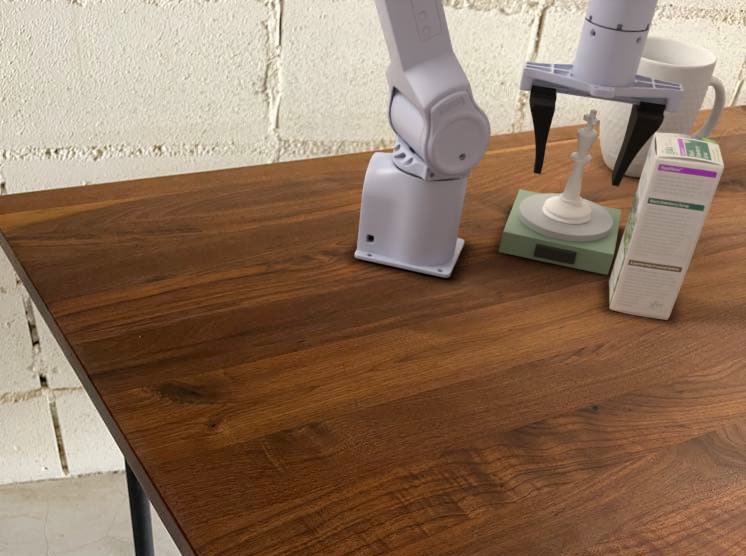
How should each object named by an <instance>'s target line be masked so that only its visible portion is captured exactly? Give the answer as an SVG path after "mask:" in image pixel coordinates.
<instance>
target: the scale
mask: <svg viewBox="0 0 746 556" xmlns="http://www.w3.org/2000/svg"><path fill="white" fill-rule="evenodd" d="M560 194H561V193H557V192H556V193H555V192H551V193H550V192H549V193H548V192H547V193H540V192H537V191H536V192H535V191H531V190H527V189H520V188H519V190H518V192H517V194H516V198H515V200H514V202H513V205H512V208H511V210H510V213H509V215H508V218H507V220H506V223H505V226H504V228H503V231H502V233H501V239H500V243H499V248H498V253H502V254H507V255H511V256H516V257H519V258H520V257H521V258H525V259H529V260H534V261H539V262H543V263H548V264H554V265H558V266H562V267H568V268H572V269H577V270H582V271H586V272H591V273H595V274H599V275H600V274H601V275H605V276H608V275H609V272H610V268H611V266H612V263H613V259H614V256H615V252H616V246H617V239H618V234H619V228H620V224H621V223H620V222H621V217H622V211H623V210H622V208H621V209H620V208H615V207H610V206H606V205H600V204H597V203H596V202H593V201H591V200H588V199H586V198H582V197H581V198H582V201H584V202H585V203H587V204H588V205H589V206H590V207H591V210H592V212H591V218H590V220H589V221H587V222H585V223H582V224H567V223H562V222H558V221H555V220H553V219H551V218H549V217H548V216H546V215H545V214H544V212H543V210H542V209H543V206H544V204H545V201H546V200H547V199H549V198H551V197H555V196H559V195H560Z"/></svg>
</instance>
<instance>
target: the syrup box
mask: <svg viewBox="0 0 746 556" xmlns="http://www.w3.org/2000/svg"><path fill="white" fill-rule="evenodd" d="M692 135H693V134H692ZM692 135H691V134H689V135H685V134H674V133H658V132H655V134H654V136H653V139H652V143H651V146H650V149H649V152H648V155H647V158H646V162H645V165H644V168H643V171H642V174H641V178H639V181H638V185H637V188H636V191H635V194H634V197H633V201H632V205H631V208H630V210H629V214H628V218H627V221H626V223H625V227H624V230H623V234H622V237H621V240H620V243H619V247H618V250H617V252H616V256H615V260H614V263H613V266H612V269H611V273H610V276H609V280H608V307H609V310H611V311H614V312H617V313H618V312H619V313H623V314H628V315H633V316H639V317H645V318H650V319H651V318H652V319H657V320H658V319H659V320H663V321H664V320H665V321H668V320H669V318H670V316H671V314H672V311H673V308H674V305H675V303H676V300H677V298H678V296H679V293H680V290H681V288H682V285H683V283H684V279H685V277H686V274H687V272H688V269H689V266H690V263H691V261H692V257H693V255H694V252H695V249H696V247H697V244H698V241H699V238H700V236H701V234H702V233H701V232H702V230H703V227H704V224H705V222H706V219H707V217H708V213H709V210H710V207H711V205H712V202H713V200H714V196H715V193H716V191H717V188H718V186H719V182H720V180H721V177H722V175H723V172H724V170H725V164H724V160H723V156H722V153H721V147H720V145H719V142H718V141H717V140H714V139H710V138H707V137H706V138H702V137H698V136H692Z"/></svg>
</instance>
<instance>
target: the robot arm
mask: <svg viewBox="0 0 746 556" xmlns="http://www.w3.org/2000/svg"><path fill="white" fill-rule="evenodd" d="M658 2H659V0H588V2H587V3H588V4H587V8H586V11H585V16H584V20H583V24H582V28H581V32H580V36H579V40H578V45H577V49H576V53H575V57H574V61H573V63H548V62H533V61H526V60H525V61H524V62H523V66H522V70H521V71H522V72H521V76H520V82H519V89H518V90H519V91H525V92H529V99H528V100H529V103H528V105H529V109H530V115H531V119H532V126H533V132H534V143H535V145H534V146H535V147H534V148H535V158H534V164H533V174H535V175H536V174H537V175H541V174H542V170H543V168H544V167H543V166H544V160H545V156H546V155H545V154H546V148H547V142H548V138H549V135H550V129H551V126H552V123H553V118H554V115H555V111H556V103H557V100H558V99H557V97H558V96H557V95H558V94H561V95H562V94H563V95H568V96H576V97H583V98H590V99H597V100H602V101H603V100H609V101H615V102H622V103H629V104H633V105H632V109H631V114H630V118H629V122H628V125H627V129H626V133H625V137H624V140H623V143H622V146H621V149H620V152H619V154H618V157H617V160H616V163H615V166H614V169H613V170H612V173H611V186H615V187H620V185H621V183H622V180H623V178H624V177H625V175H624V174H625V173H626V171H627V169H628V167H629V166H630V164H631V162H632V161H633V159H634V158H635V156H636V155H637V154H638V152H639V151H640V150H641V148H642V147H643V146H644V144H645V143H646V142H647V141H648V140H649V139H650V138H651V136H652V135H653V134H654V133H655V132H656V131H657V130H658V129H659V128H660V126H661V124H662V122H663V120H664V114H663V113H664V110H665V111H667V112H673V113H676V112H677V110H678V107H679V104H680V101H681V98H682V95H683V92H684V91H683V88H682V84H677V83H671V82H666V81H662V80H658V79H654V78H650V77H646V76H642V75H638V74H637V70H638V67H639V63H640V60H641V57H642V53H643V50H644V46H645V43H646V39H647V36H649V33H650V29H651V26H652V23H653V20H654V19H653V18H654V15H655V12H656V9H657V5H658ZM374 6H375V7H376V8H375V9H376V12H377V15H378V19H379V23H380V27H381V30H382V33H383V37H384V41H385V44H386V49H387V51H388V56H389V58H390V62H389V64H388V66H387V67H386V69H385V77H386V80H387V85H388V98H387V104H386V116H387V121H388V124H389V126H390V129H391V130H392V131H393V133H394V134H395V141H394V145H393V149H392V152H383V151H376V152H374V153H373V155H372V156H371V157H370V159H369V163H368V165H367V168H366V172H365V176H364V182H363V186H362V193H361V202H360V210H359V211H360V213H359V223H358V234H357V243H356V250H355V252H354V258H356V259H357V260H362V261H367V262H371V263H374V264H375V263H376V264H379V265H384V266H389V267H392V268H393V267H394V268H398V269H403V270H407V271H412V272H416V273H421V274H425V275H430V276H434V277H439V278H443V279H448V278H451V275H452V273H453V270H454V268H455V266H456V263H457V262H458V259H459V257H460V255H461V252H462V250H463V248H464V246H465V239H464V238H460V237H458V236H459V231H460V226H461V219H462V214H463V208H464V205H465V204H464V203H465V199H466V192H467V188H468V187H467V186H468V181H469V178H470V175H471V171H472V170H474V168H476V166H478V165H479V163H480V162H481V161H482V160H483V158H484V156H485V155H486V154H487V151H488V148H489V145H490V141H491V135H492V132H491V131H492V129H491V123H490V121H489V117H488V115H487V114H486V112H485V111H484V110H483V109H482V108H481V107H480V105H478V102H476V100H475V98H474V95H473V91H472V86H471V83H470V81H469V78H468V77H467V75H466V72H465V71H464V69H463V67H462V65H461V63H460V61H459V59H458V58H457V56H456V54H455V51H454V48H453V45H452V40H451V34H450V30H449V26H448V22H447V17H446V13H445V8H444V2H443V0H374Z"/></svg>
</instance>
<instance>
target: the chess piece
mask: <svg viewBox="0 0 746 556" xmlns="http://www.w3.org/2000/svg"><path fill="white" fill-rule="evenodd" d="M597 113H598V110H596V109H590V111H589V113H586V114H585V113H584V115H583V118H582V120H583V121H585V122H586V126H585V127H581V128H580V127H579V128H578V129H577V131H576V132H577V133H576V138H577V144H576V145H577V151H574V152H572V153H571V154H570V155H569V157H570V158H569V159H571V160H572V161H573V162H574V163H573V167H572V169H571V173H570V175H569V177H568V180H567V183H566V185H565V187H564V190H563V192H560V193H559V194H560V195H559V196H555V197H551V198H549V199H547V200H546V201H545V204H544V206H543V209H542V210H543V212H544V214H545V215H546V216H548V217H549V218H551V219H553V220H555V221H558V222H562V223H567V224H582V223H585V222H587V221H589V220H590V218H591V212H592V210H591V207H590V206H589V205H588V204H587V203H585V202H584V201H582V197H581V190H582V183H583V176H584V171H585V170H584V169H585V166H586V165H585V164H589V163H592V162H593V156H592V155H591V154H590V153H589V152H590V151H591V149H592V147H593V145H594V144H595V142H596V141H597V139H598V137H599V132H598V131H597V130H596V129H593V128H594V126H596V127H597V126H600V119H598V118H596V116H597Z"/></svg>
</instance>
